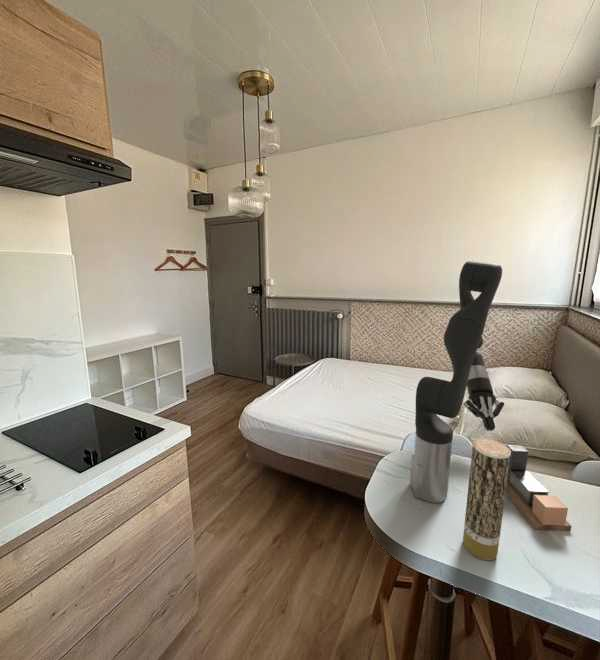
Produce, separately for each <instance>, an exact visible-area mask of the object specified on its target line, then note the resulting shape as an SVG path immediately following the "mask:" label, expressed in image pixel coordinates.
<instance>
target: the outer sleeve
mask: <svg viewBox="0 0 600 660" xmlns="http://www.w3.org/2000/svg"><path fill="white" fill-rule="evenodd" d="M509 486H510V487H511V488H512V489H513V490H514V491H515V493H516V494H517V495H518V496H519V497H520V498H521V499H522V500H523V502H524V503H525V504H526V505H527V506H533V505H532V504H531V503H530V499H531V493H544V494H545V495H546V496H549V490H548V489H547V488H546V487H544V486H543V485H542V483H540V481H538V480H537V479H536V478H535V477H534V476H533V475H532V474H531V473H530V472H529V471H526V472H519V471H511V474H510V481H509Z"/></svg>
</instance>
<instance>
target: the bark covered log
mask: <svg viewBox="0 0 600 660" xmlns="http://www.w3.org/2000/svg"><path fill="white" fill-rule="evenodd" d="M472 443H473V444H472V449H471V457H470V458H471V460H470V469H469V477H468V486H467V487H468V489H467V496H466V506H465V517H464V527H463V535H462V536H463V537H462V541H463V542H462V543H463V545H464V547H465V548H466V550H467V551H468V552H469V553H470V554H471V555H473V556H474V557H476V558H479V559H481V560H483V561H490V560H494V559H496V557H497V556H498V552H499V546H500V539H501V538H500V537H501V530H502V523H503V515H504V508H505V502H506V486H507V479H508V471H509V464H510V456H511V451H510V449H509V448H508V447H507V445H505V444H504V443H502V442H500V441H497V440H495V439H490V438H477V439H475V440H473V442H472Z"/></svg>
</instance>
